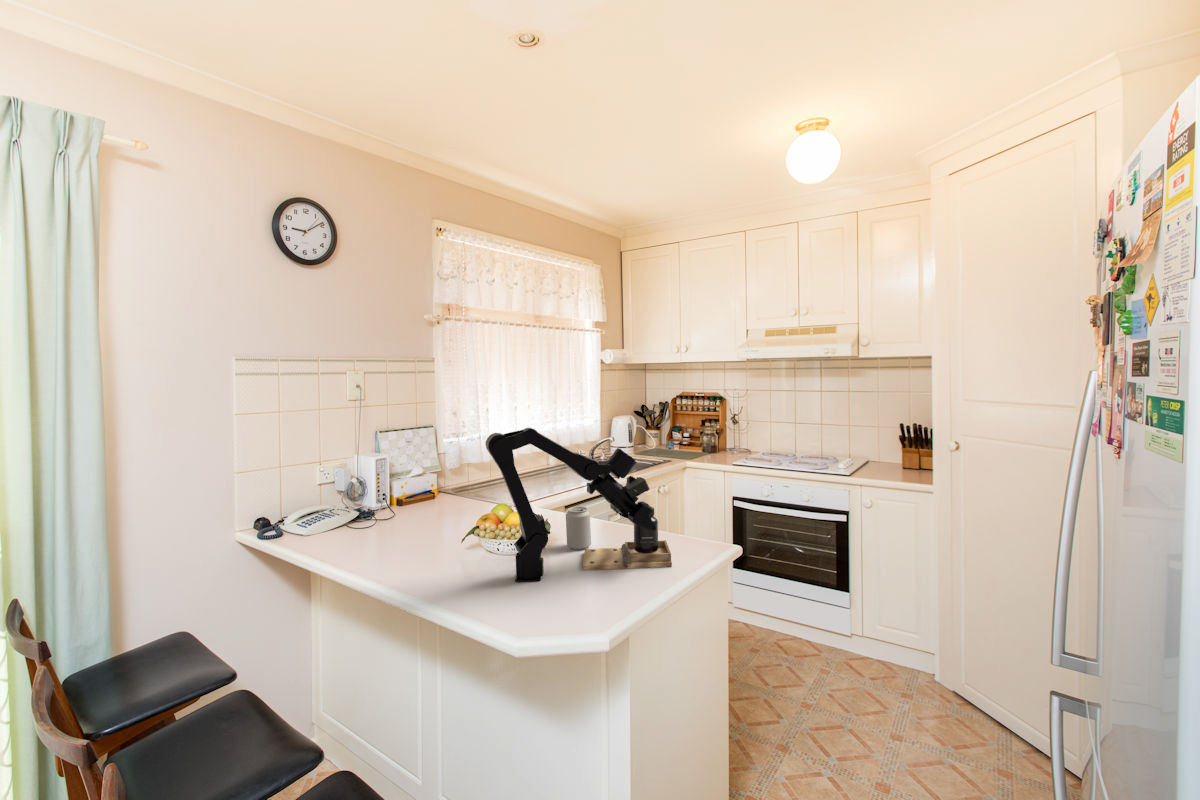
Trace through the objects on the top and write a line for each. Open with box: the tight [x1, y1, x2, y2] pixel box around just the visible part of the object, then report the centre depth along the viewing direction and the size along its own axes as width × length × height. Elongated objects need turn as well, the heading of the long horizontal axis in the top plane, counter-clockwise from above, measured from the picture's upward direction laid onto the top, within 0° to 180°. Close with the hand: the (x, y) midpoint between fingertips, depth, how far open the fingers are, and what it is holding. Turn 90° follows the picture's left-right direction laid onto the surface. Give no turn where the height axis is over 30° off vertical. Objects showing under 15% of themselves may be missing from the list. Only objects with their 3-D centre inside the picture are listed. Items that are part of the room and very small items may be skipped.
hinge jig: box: [582, 539, 673, 571], centre depth 150 cm, size 24×14×3 cm, turn 89°
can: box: [565, 506, 592, 551], centre depth 163 cm, size 8×8×12 cm
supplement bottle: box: [633, 506, 659, 554], centre depth 150 cm, size 7×7×12 cm
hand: (650, 526), depth 150 cm, fingers closed on supplement bottle, 7 cm apart
